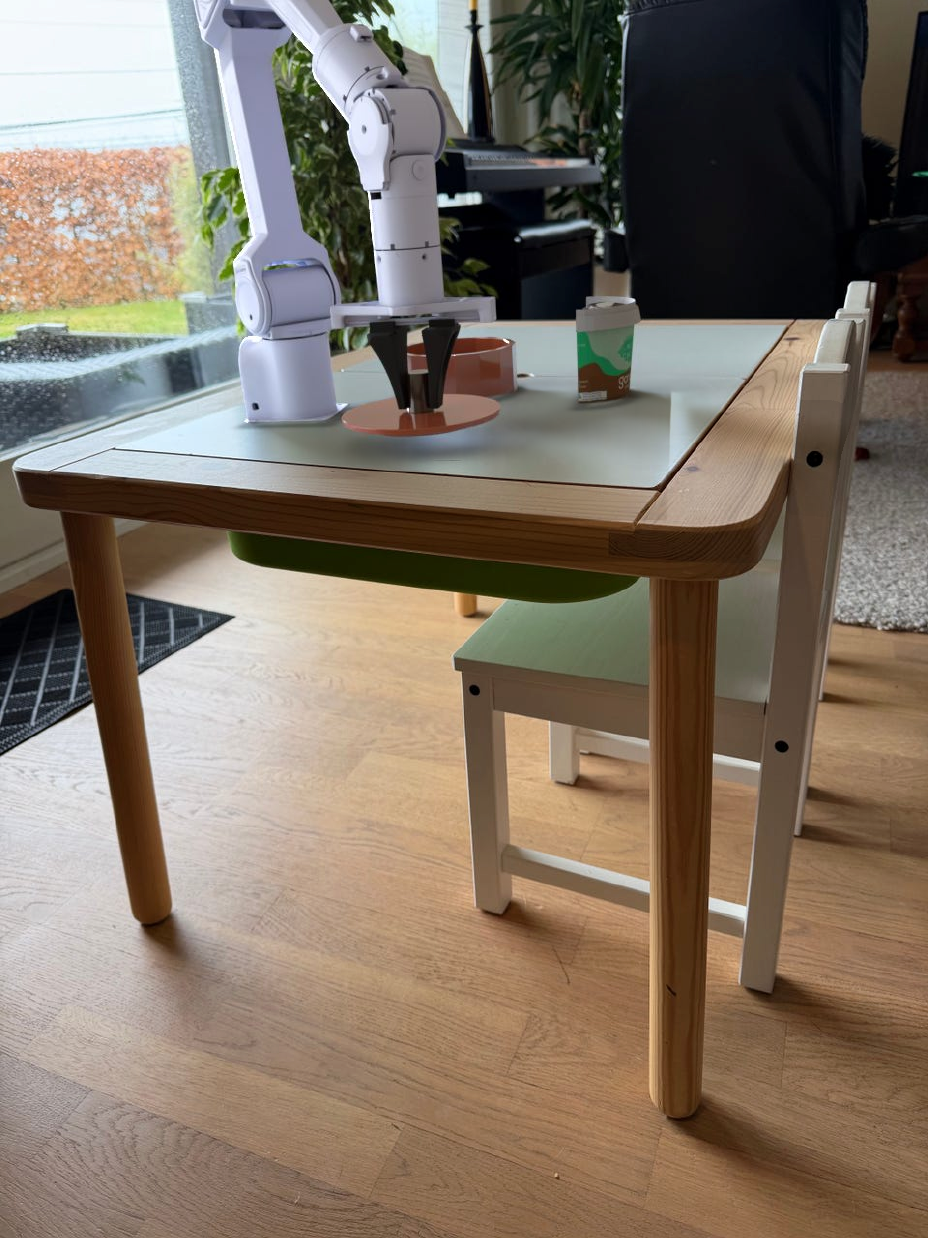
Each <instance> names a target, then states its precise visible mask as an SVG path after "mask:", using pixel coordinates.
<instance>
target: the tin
mask: <svg viewBox="0 0 928 1238" xmlns="http://www.w3.org/2000/svg"><path fill="white" fill-rule="evenodd" d="M517 361H518V360H517V342H516V341H514V340H512V338H505V337H499V336H498V337H497V336H461V337H460V336H458V337H457V340H456V343H455V345H454V348H453V351H452V354H451V358H450V361H449V365H448V369H447V373H446V378H445V384H444V392H443V394H464V395H475V396H481V397H486V398H490V397H495V396H499V395H504V394H506V393H515V392H517V391H518V385H519V384H518V363H517ZM407 364H408V371H410V370H418V369H427V370H428V367H427V360H426V354H425V348H424V343H423V341H418V342H417V341H416V342H412V343H408V344H407Z"/></svg>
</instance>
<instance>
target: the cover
mask: <svg viewBox="0 0 928 1238" xmlns="http://www.w3.org/2000/svg"><path fill="white" fill-rule="evenodd" d="M405 383H406V394H407V405H408V408H407V409H403V410H399V409H398V405H397V401H396V397H393V398H386V399H381V400H376V401H375V400H374V401H371V402H368V403H364V404H360V405H358V406H354V407H353V408H350V409H349V410H347V411H345V412H344V413H343V414H342V415H341V424H342V426H343V427H344V428H346V429H347V430H350V431H353V432H356V433H362V434H367V435H377V436H384V437H397V438H410V437H411V438H412V437H426V436H427V437H428V436H436V435H443V434H450V433H453V432H458V431H462V430H466V429H469V428H473V427H477V426H479V425H483V424H485V423H488V422H490V421H492V420H495V419H496V418H497V417H498V416H500V414H501V412H502V406H501V404H500V402H499V401H497V400H495V399H493V398H490V397H481V396H475V395H464V394H443V405H441V406H440V407H439V408H438V409H431V408H430V401H429V379H428V370H427V369H418V370H410V371H407V372H405Z"/></svg>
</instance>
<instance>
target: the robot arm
mask: <svg viewBox="0 0 928 1238" xmlns="http://www.w3.org/2000/svg"><path fill="white" fill-rule="evenodd" d="M192 1H193V7H194V10H195V14H196V20H197V24H198V27H199V31H200V36H201V39H202V40H203V41H204V42H205V43H206V44H208V45H209V46H210V47H212V48H213V49H214V54H215V58H216V63H217V64H216V65H217V68H218V74H219V77H220V78H219V79H220V83H221V87H222V93H223V97H224V103H225V107H226V112H227V118H228V122H229V127H230V131H231V136H232V141H233V145H234V151H235V154H236V160H237V165H238V169H239V174H240V179H241V185H242V189H243V194H244V199H245V203H246V208H247V213H248V218H249V223H250V228H251V233H252V236H253V237H252V238H251V239H250V241H249V242H248V243H246V245H245V247H244V248H243V249H242V250H241V251H240V252H239V254H238V255H237V256H236V258H235V259H234V261H233V262H232V266H233V273H234V275H233V276H234V283H235V285H234V286H235V289H234V300H235V301H234V302H235V307H236V310H237V314H238V316H239V319H240V321H241V323H242V325H243V326H244V327H245V328H246V329H247V330H248V331H249V332H250V333H251V334H252V336H248V337H244V339H243V340H242V341H241V343H240V345H239V348H238V357H237V360H238V363H237V364H238V371H239V378H240V384H241V390H242V397H243V402H244V409H245V414H246V415H245V416H246V419H245V420H244V423H264V422H270V423H271V422H307V421H308V422H309V421H311V422H312V421H327V420H329V419H331V418H332V417H334V416H335V415H337V414H338V413H340V412H341V411H342V410H344V409H345V408H346V407H348V406H349V405H350V404H349V403H337V397H336V388H335V381H334V380H335V379H334V373H333V364H332V357H331V356H332V355H331V348H330V339H329V331H333V330H337V329H338V330H340V329H341V330H342V329H346V328H361V327H369V329H368V330H369V333H367V334H366V340H367V342H368V345H369V346H370V348H371V349H372V350H373V352H374V353H375V355H376V357H377V358H378V360H379V362H380V364H381V365H382V367H383V369H384V371H385V374H386V375H387V378H388V380H389V383H390V387H391V388H392V391H393V394H394V398H396V401H397V405H398V409H399V410H403V409H407V408H408V405H407V394H406V383H405V372H407V371H408V364H407V345H408V329H409V328H408V326H411V325H413V326H415V325H428V326H426V327H424V329H421V338H422V342H423V343H424V348H425V354H426V360H427V367H428V379H429V401H430V408H431V409H438V408H439V407H440V406H441V405H443V392H444V384H445V378H446V373H447V369H448V365H449V361H450V358H451V354H452V351H453V348H454V345H455V343H456V340H457V337H459V336H460V335H459V334H460V332H461V329H462V323H480V324H488V323H489V324H491V323H493V322H495V321H496V320H497V309H496V308H497V307H496V297H495V296H475V297H474V296H472V297H470V296H467V297H466V296H463V297H460V296H459V297H458V296H457V297H455V296H454V297H451V296H450V297H449V296H448V297H446V296H445V292H444V289H445V288H444V276H443V263H442V249H441V248H442V247H441V235H440V219H439V206H438V191H437V176H436V162H438V161H439V159H440V158H441V157H442V155H443V153H444V151H445V149H446V146H447V145H446V144H447V139H448V119H447V113H446V111H445V107H444V104H443V103H442V101H441V99H440V97H439V96H438V94H437V91H436V90H435V89H434V88H433V87H432V86H428V85H416V84H415V83H414V82H408V81H407V80H406V79H405V78H404V76H403V75H402V74H403V73H402V72H401V71H400V70H399V68H398V67H397V66H395V65H394V64H393V62H391V60H390V59H389V57H388V56H387V55H386V53H384V51H383V50H382V49H381V47H380V46H379V45H378V44H377V42H376V41H375V40H374V36H375V35H374V33H373V31H372V30H371V29H370V28H369V26H368V25H360V24H356V23H352V22H351V23H349V22H347V23H344V22H343V20H342V18H341V17H340V15H339V14H338V12H337V11H336V9H335V8H334V6H333V5H332V3H331V2H330V0H192ZM292 34H294V35H295V36H296V37H297V38H298V40H299V41H300V42H301V43H302V44H303V45H304V46H305V47H306V49H308V51H310V52H311V54H312V62H311V68H312V69H311V70H312V73H313V77H314V79H315V80H316V82H317V83H318V84H319V86H320V88H322V90H323V91H324V92H325V94H326V95H327V97H329V99H330V100H331V102H332V103H333V104H334V106H335V107H336V108H337V110H338V111H339V112H340V114H341V115H342V116H343V117H344V119H345V120H346V122H347V123H348V125H349V126H348V127H349V129H347V131H346V133H347V140H348V145H349V148H350V151H351V154H352V156H353V158H354V159H355V161H356V164H357V167H358V171H359V180H360V184H361V185H362V188H363V190H364V191H365V192H367V193H368V200H369V210H370V211H369V212H370V223H371V234H372V235H371V236H372V244H373V253H374V254H373V255H374V264H375V274H376V276H375V277H376V285H377V295H378V300H373V301H363V302H362V301H361V302H349V303H342V291H341V287H340V283H339V281H338V278H337V276H336V274H335V272H334V270H333V268H332V265H331V261H330V257H329V253H328V249H327V248H326V247H325V246H324V245H322V244H321V243H319V242H318V241H317V240H316V239H314V238H313V237H311V236H310V235H309V234H308V233H307V232H305V230H304V228H303V223H302V218H301V212H300V208H299V202H298V196H297V192H296V191H297V190H296V187H295V181H294V177H293V170H292V166H291V161H290V156H289V151H288V150H289V149H288V144H287V139H286V134H285V129H284V124H283V119H282V113H281V108H280V102H279V98H278V93H277V87H276V83H275V82H276V81H275V77H274V72H273V67H272V57H273V54H274V52H275V51H276V50H277V49H279V48H281V47H282V46H284V45H286V44H287V43H288V42H289V41H290V38H291V36H292ZM290 264H291V265H296V266H291V267H282V268H273V269H265V270H264V268H265V267H270V266H271V267H272V266H281V265H290ZM419 315H421V316H422V315H431V316H426V317H407V316H419ZM405 316H406V317H405ZM391 317H401V318H391ZM402 317H405V318H402Z"/></svg>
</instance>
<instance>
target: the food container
mask: <svg viewBox="0 0 928 1238" xmlns="http://www.w3.org/2000/svg"><path fill="white" fill-rule="evenodd" d="M636 303H637V301H636V299H635V298H632V297H629V296H628V297H627V296H616V295H615V296H613V295H612V296H611V295H610V296H609V295H608V296H607V295H604V296H603V295H601V296H599V295H597V296H586V297H585V307H583V308H582V309H576V310H575V316H576V317H575V333H576V355H577V356H576V357H577V359H576V360H577V388H578V389H577V390H578V391H577V393H578V395H577V396H578V404H593V403H594V404H595V403H603V402H608V401H614V400H615V401H616V400H618V399H622V398H625V397H627V396H628V395H630V392H631V391H630V390H631V378H632V377H631V375H632V363H633V349H634V339H635V338H634V335H635V325H638V324H639V323H641V321H642V320H641V315H640V309H639V305H637V304H636Z"/></svg>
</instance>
